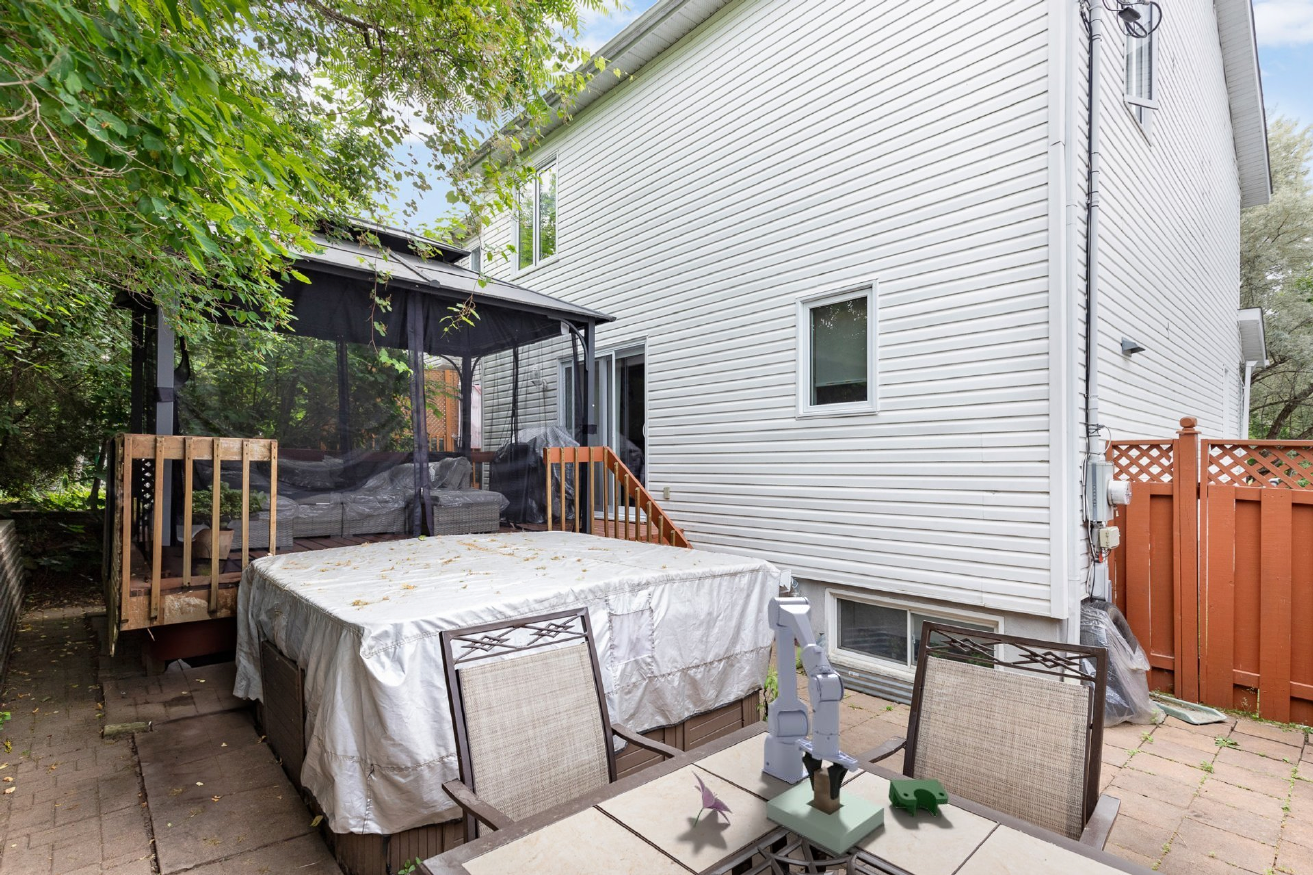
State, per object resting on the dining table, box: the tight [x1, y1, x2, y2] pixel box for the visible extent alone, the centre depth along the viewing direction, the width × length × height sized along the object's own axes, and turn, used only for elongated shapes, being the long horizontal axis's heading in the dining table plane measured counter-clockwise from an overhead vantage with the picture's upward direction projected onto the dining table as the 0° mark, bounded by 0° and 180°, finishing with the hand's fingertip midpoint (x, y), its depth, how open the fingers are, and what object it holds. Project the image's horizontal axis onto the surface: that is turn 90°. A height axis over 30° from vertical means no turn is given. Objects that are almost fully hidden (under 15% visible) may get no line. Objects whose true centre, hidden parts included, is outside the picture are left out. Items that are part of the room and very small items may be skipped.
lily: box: [691, 770, 733, 828], centre depth 134 cm, size 12×12×10 cm
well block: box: [765, 778, 885, 857], centre depth 135 cm, size 18×18×4 cm
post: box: [814, 766, 840, 815], centre depth 136 cm, size 4×4×8 cm
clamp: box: [888, 779, 949, 818], centre depth 141 cm, size 12×6×9 cm, turn 90°
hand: (825, 793), depth 136 cm, fingers closed on post, 4 cm apart
